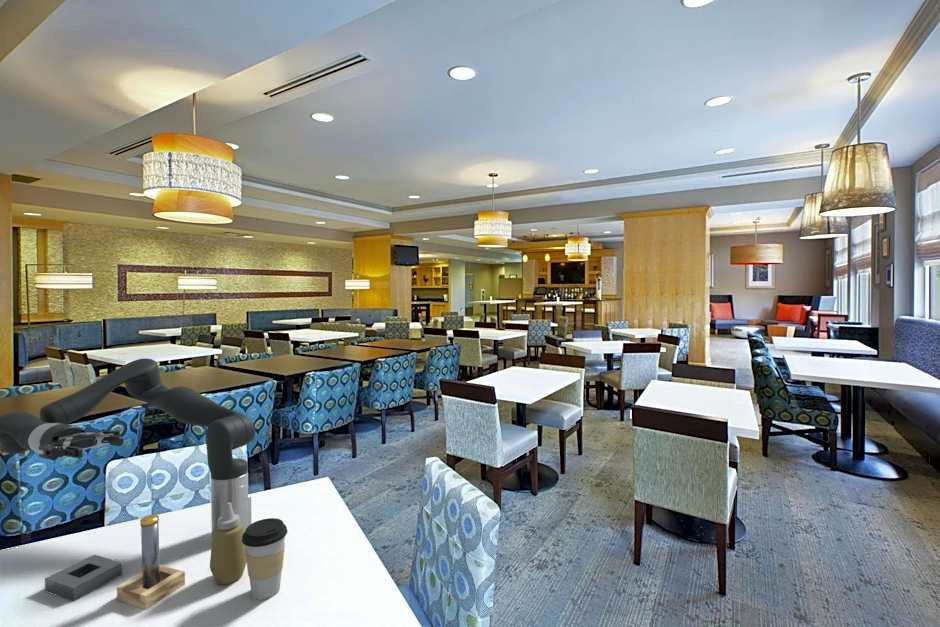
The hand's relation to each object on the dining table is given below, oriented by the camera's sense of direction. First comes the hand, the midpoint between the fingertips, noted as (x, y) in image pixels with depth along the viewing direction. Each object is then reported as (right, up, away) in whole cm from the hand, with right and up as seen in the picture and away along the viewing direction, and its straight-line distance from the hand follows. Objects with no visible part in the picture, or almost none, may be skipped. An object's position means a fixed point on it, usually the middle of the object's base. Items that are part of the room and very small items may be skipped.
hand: (101, 447), depth 104 cm
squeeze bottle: (+28, -32, +3) cm, 43 cm away
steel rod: (+13, -31, -2) cm, 34 cm away
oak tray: (+14, -32, -2) cm, 35 cm away
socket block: (-4, -32, +1) cm, 32 cm away
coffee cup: (+39, -32, -2) cm, 51 cm away
